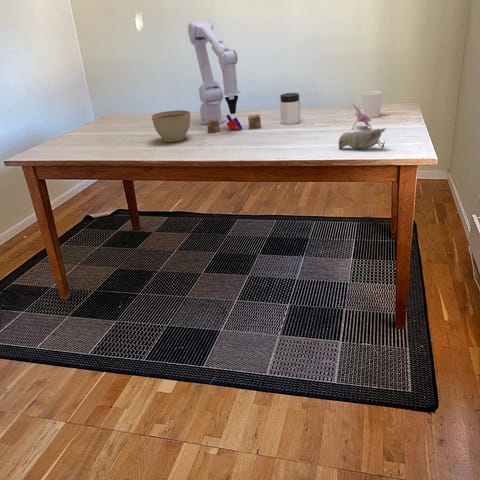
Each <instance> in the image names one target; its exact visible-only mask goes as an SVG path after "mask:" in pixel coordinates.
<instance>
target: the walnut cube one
mask: <svg viewBox="0 0 480 480" xmlns="http://www.w3.org/2000/svg"><path fill="white" fill-rule="evenodd" d="M247 118H248V128H249V130H258V129H259V130H260V129H262V123H261V115H260V114H252V115H247Z"/></svg>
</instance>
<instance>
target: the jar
mask: <svg viewBox="0 0 480 480" xmlns="http://www.w3.org/2000/svg"><path fill="white" fill-rule="evenodd" d="M279 98H280V101H279V109H280V110H279V111H280V123H281V124H284V125H295V124H299V123H300V122H301V100H300V94H299V93H298V92H287V93H282V94H280V97H279Z"/></svg>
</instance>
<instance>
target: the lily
mask: <svg viewBox="0 0 480 480" xmlns="http://www.w3.org/2000/svg"><path fill="white" fill-rule="evenodd" d="M351 105H352V106H353V108H355V110H356V112H354V115H355V116H356V121H355V123H353V126H352V128H351V130H353V129H354V127H355V125H356V124H357V123H358V122H360V123H364V124H365V126H368V127H369V128H370V129H371V130H373V128H372V126H371V124H370V123H369V122H371V121H372V118H369V117H368V116H366V115H365V114H364V113H362V111H361V109H359V108H358V107H357V106H356V105H355V104H354V103H351Z"/></svg>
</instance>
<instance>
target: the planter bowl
mask: <svg viewBox="0 0 480 480" xmlns="http://www.w3.org/2000/svg"><path fill="white" fill-rule="evenodd" d="M150 117H151V120H152V123H153V128H154V129H155V131H156V133H157V134H158V135H159V136H160V137H161V140H162V142H166V143H177V142H180V141H184V140H185V139H186V135H187V133H188V131H189V129H190V125H191V112H190V111H188V110H184V109H181V110H180V109H179V110H177V109H176V110H167V111H160V112H157V113H154V114H153V115H151V116H150Z"/></svg>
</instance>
